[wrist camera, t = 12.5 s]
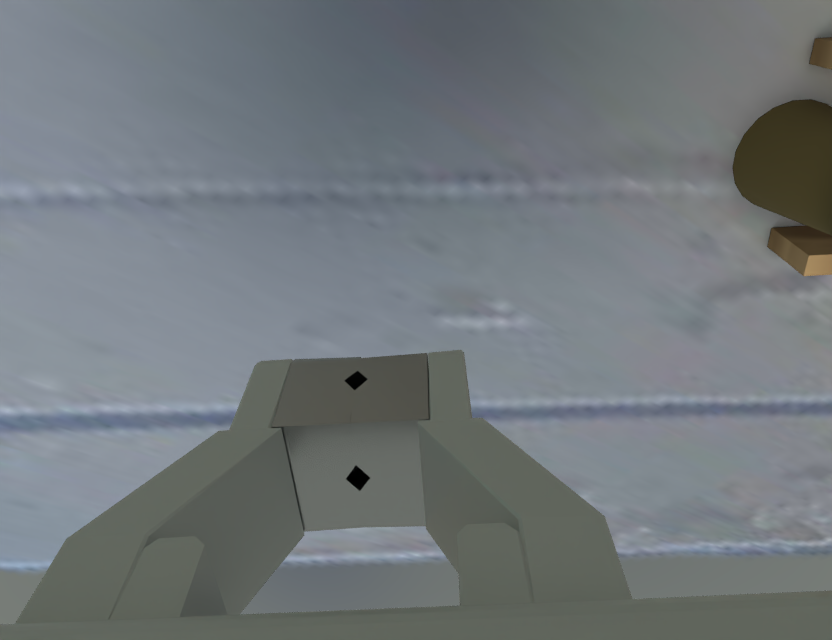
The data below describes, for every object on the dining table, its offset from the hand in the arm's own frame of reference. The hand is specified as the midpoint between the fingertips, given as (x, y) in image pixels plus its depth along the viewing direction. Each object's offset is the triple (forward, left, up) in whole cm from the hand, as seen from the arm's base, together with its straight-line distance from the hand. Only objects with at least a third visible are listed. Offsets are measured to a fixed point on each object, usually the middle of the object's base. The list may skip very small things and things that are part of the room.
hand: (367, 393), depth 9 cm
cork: (-12, +18, -27) cm, 35 cm away
